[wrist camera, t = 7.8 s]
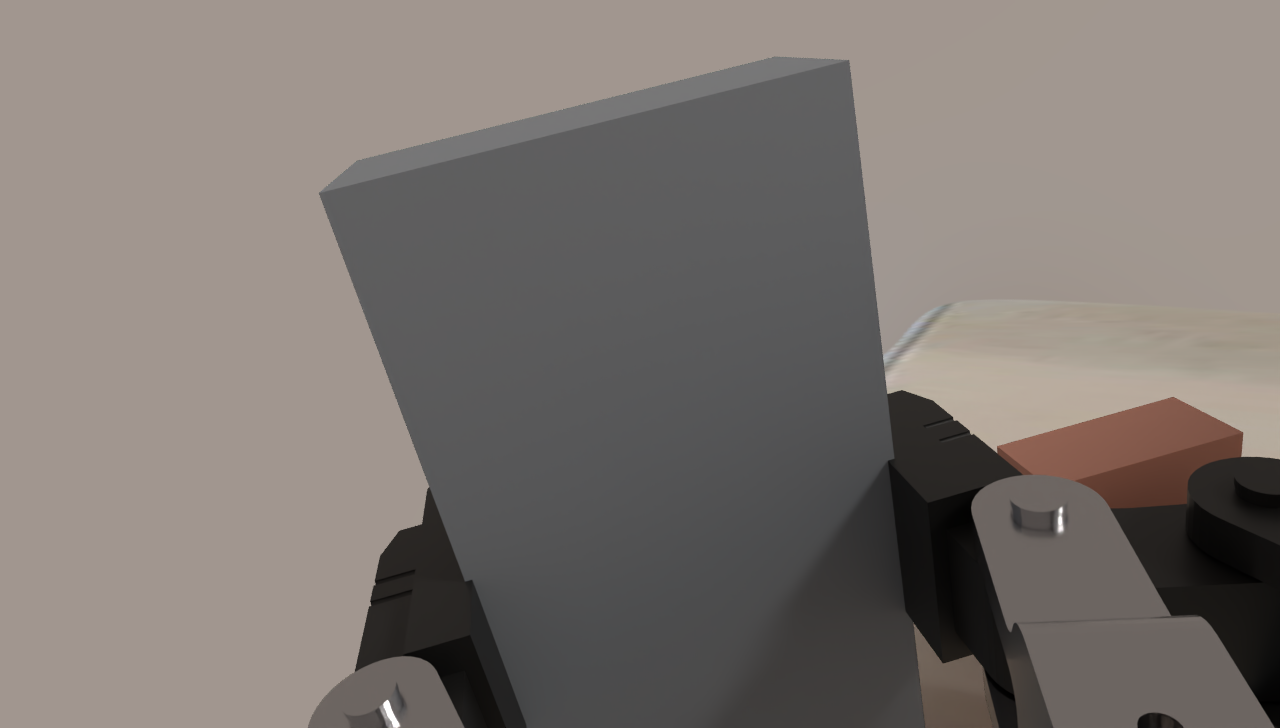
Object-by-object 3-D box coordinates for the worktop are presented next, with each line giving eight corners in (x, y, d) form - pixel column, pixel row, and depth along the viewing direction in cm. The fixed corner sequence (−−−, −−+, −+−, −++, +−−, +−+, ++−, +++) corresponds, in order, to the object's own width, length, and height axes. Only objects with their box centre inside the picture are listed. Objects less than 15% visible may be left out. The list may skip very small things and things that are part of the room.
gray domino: (603, 859, 14) (356, 160, 9) (880, 773, 14) (775, 56, 10) (621, 997, 12) (317, 193, 7) (943, 892, 12) (848, 59, 8)
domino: (1013, 774, 26) (997, 446, 21) (1159, 729, 26) (1173, 396, 22) (1057, 836, 24) (1049, 487, 19) (1214, 786, 24) (1243, 432, 20)
